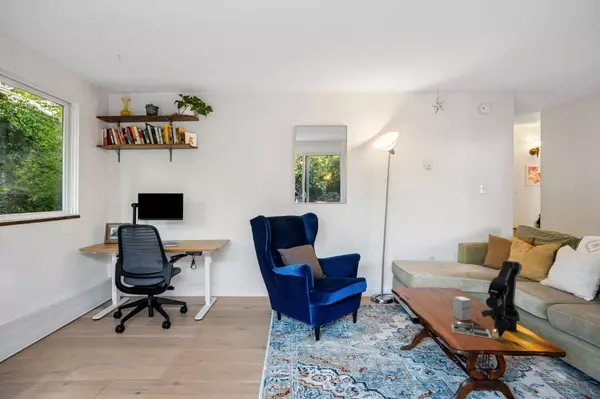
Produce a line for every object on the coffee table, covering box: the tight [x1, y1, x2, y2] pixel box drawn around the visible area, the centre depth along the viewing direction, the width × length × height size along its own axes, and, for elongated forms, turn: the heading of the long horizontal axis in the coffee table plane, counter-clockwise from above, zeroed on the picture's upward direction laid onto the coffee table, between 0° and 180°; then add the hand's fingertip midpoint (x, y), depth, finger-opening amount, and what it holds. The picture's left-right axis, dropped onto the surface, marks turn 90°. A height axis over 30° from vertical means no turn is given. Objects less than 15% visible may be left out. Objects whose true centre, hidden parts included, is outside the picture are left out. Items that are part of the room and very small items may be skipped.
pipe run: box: [451, 320, 493, 339], centre depth 173 cm, size 19×12×4 cm, turn 67°
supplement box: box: [452, 296, 472, 321], centre depth 193 cm, size 7×7×13 cm
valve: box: [491, 327, 505, 342], centre depth 164 cm, size 5×5×6 cm
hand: (498, 333), depth 164 cm, fingers open, 9 cm apart
